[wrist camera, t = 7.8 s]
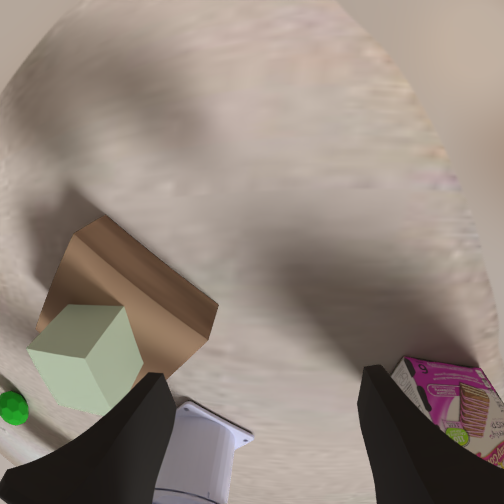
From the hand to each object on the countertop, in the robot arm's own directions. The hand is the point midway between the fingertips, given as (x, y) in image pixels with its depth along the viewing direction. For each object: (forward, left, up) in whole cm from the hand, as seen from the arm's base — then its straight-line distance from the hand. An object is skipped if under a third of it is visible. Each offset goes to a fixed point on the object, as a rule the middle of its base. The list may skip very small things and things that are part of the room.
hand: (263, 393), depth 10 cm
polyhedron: (-38, +12, -11) cm, 41 cm away
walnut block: (-9, +6, -11) cm, 15 cm away
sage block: (-9, +6, -7) cm, 13 cm away
